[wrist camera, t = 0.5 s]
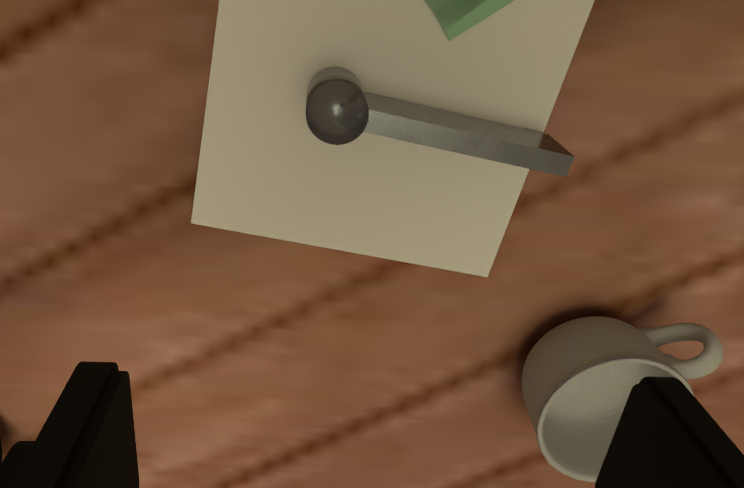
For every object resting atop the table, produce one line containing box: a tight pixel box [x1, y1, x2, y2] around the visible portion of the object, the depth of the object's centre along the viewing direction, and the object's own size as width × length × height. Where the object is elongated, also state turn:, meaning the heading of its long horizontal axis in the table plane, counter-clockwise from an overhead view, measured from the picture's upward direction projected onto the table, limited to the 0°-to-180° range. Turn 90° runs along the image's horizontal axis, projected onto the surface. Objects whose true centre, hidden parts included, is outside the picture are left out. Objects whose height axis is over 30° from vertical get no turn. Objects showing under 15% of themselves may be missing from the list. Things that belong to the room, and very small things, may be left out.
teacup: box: [522, 316, 723, 482], centre depth 43 cm, size 14×11×8 cm
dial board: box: [191, 0, 595, 277], centre depth 34 cm, size 20×24×2 cm
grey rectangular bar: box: [306, 67, 574, 177], centre depth 33 cm, size 15×3×4 cm, turn 76°
